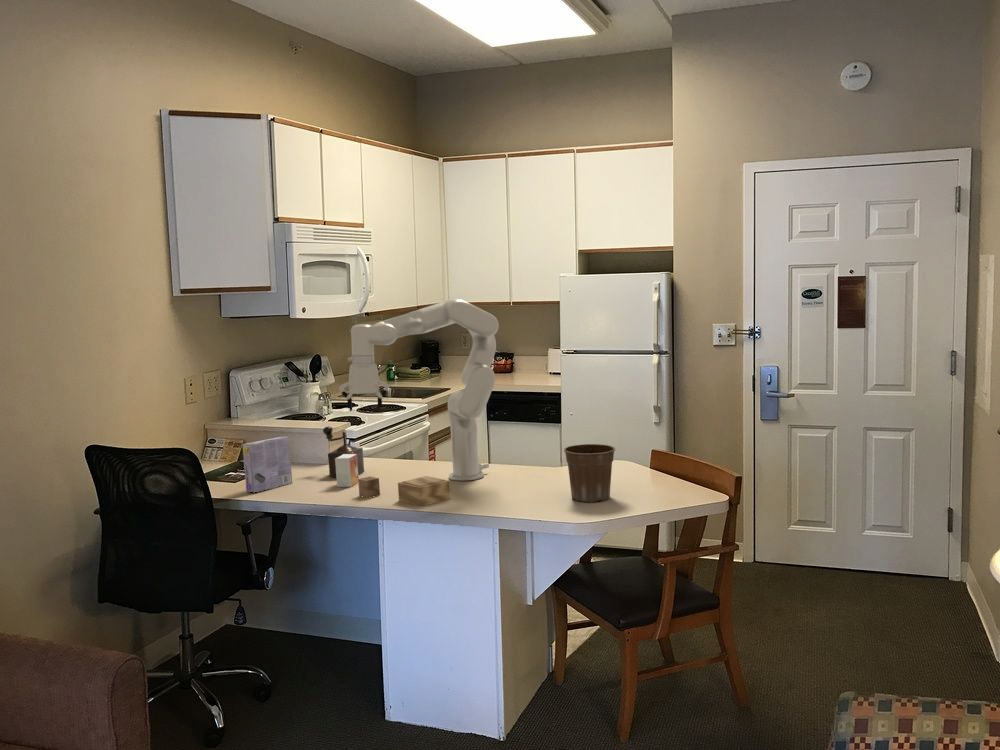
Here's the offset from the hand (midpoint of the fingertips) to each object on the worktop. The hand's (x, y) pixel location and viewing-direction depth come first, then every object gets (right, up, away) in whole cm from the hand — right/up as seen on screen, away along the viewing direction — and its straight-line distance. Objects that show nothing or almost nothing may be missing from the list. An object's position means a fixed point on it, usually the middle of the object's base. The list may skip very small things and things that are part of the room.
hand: (365, 409), depth 314 cm
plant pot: (+76, -27, -24) cm, 84 cm away
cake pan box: (-36, -29, +15) cm, 49 cm away
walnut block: (+2, -29, -5) cm, 30 cm away
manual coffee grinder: (-14, -26, +32) cm, 43 cm away
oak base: (+22, -29, -15) cm, 39 cm away
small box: (-8, -28, +14) cm, 32 cm away
